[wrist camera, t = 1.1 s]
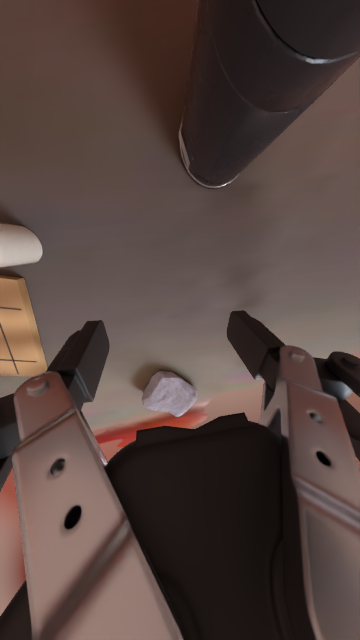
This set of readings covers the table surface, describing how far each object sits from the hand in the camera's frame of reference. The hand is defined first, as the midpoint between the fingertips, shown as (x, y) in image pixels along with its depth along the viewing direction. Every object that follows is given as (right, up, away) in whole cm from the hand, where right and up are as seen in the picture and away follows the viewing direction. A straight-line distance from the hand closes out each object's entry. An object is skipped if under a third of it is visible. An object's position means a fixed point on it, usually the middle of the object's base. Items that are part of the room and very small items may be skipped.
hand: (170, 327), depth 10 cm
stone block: (-1, -16, +29) cm, 33 cm away
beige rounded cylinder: (-23, +12, +13) cm, 29 cm away
